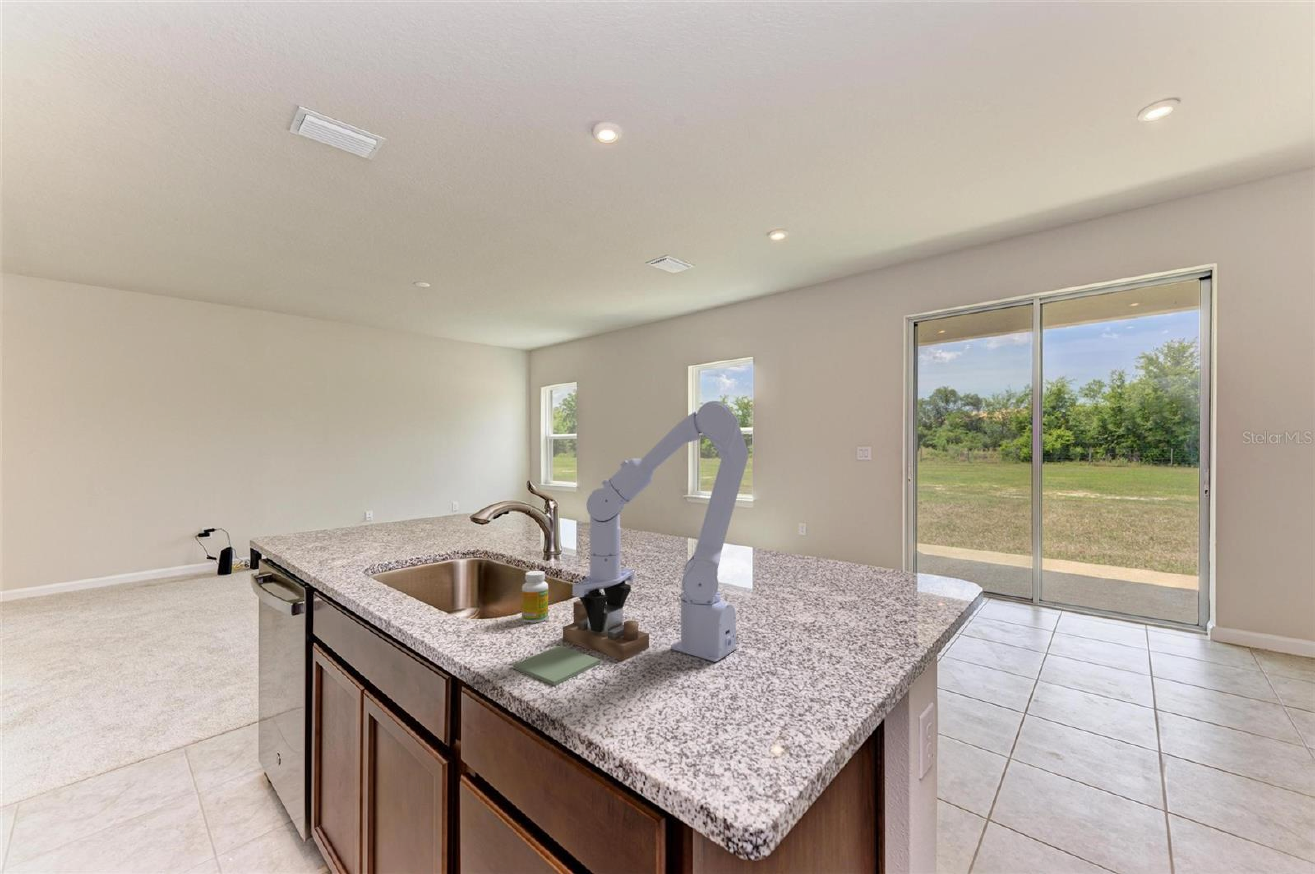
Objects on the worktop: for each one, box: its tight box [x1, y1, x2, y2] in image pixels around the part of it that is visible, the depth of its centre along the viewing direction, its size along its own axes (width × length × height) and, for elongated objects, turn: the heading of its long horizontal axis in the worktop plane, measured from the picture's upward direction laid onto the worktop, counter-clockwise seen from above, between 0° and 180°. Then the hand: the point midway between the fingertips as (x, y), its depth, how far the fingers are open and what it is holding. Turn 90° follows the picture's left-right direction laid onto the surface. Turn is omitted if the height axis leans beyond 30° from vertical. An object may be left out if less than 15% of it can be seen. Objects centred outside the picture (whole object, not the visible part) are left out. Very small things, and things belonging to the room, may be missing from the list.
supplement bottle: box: [521, 570, 549, 624], centre depth 105 cm, size 5×5×10 cm
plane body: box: [562, 599, 650, 662], centre depth 92 cm, size 15×7×6 cm, turn 53°
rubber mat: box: [512, 645, 601, 687], centre depth 83 cm, size 10×10×1 cm
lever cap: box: [588, 603, 624, 637], centre depth 92 cm, size 5×4×5 cm
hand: (605, 627), depth 92 cm, fingers closed on lever cap, 4 cm apart
